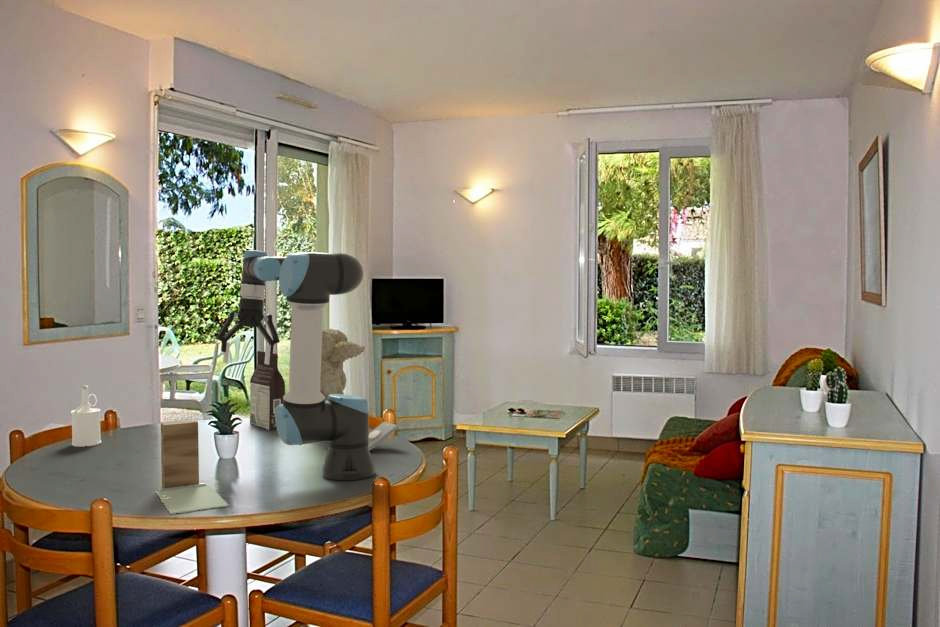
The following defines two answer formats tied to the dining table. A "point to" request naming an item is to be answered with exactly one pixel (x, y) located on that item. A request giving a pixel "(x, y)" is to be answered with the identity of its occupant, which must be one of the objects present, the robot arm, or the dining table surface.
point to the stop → (182, 486)
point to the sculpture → (335, 361)
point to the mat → (191, 499)
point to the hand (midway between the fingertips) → (246, 363)
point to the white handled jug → (86, 422)
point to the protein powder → (265, 392)
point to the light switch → (381, 433)
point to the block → (179, 453)
